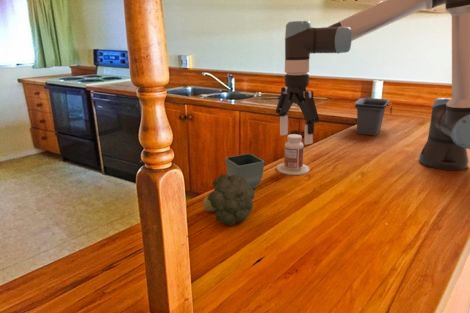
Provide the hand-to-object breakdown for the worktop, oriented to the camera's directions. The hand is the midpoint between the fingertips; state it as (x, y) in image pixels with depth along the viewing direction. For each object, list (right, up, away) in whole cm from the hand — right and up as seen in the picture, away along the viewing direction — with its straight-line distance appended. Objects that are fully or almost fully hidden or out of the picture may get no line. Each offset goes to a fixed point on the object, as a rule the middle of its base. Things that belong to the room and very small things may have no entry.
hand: (295, 139), depth 123 cm
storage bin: (+44, +6, +52) cm, 68 cm away
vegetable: (-22, -21, -30) cm, 43 cm away
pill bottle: (0, -10, +3) cm, 10 cm away
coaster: (0, -10, +3) cm, 11 cm away
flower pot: (-17, -15, -11) cm, 26 cm away
